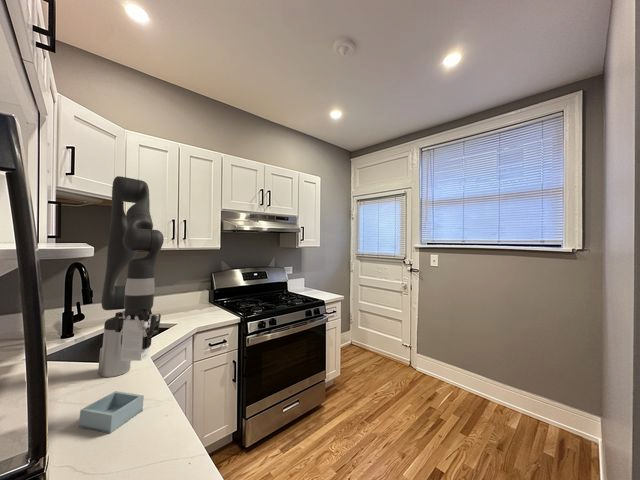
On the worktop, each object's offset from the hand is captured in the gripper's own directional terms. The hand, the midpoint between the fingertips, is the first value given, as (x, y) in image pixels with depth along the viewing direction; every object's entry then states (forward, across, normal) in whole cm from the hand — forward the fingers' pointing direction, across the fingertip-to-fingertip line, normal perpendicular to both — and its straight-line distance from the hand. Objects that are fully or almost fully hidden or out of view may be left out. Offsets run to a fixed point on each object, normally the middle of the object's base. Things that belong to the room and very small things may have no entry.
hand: (135, 347), depth 80 cm
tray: (+18, +1, +5) cm, 19 cm away
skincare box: (+4, 0, 0) cm, 4 cm away
